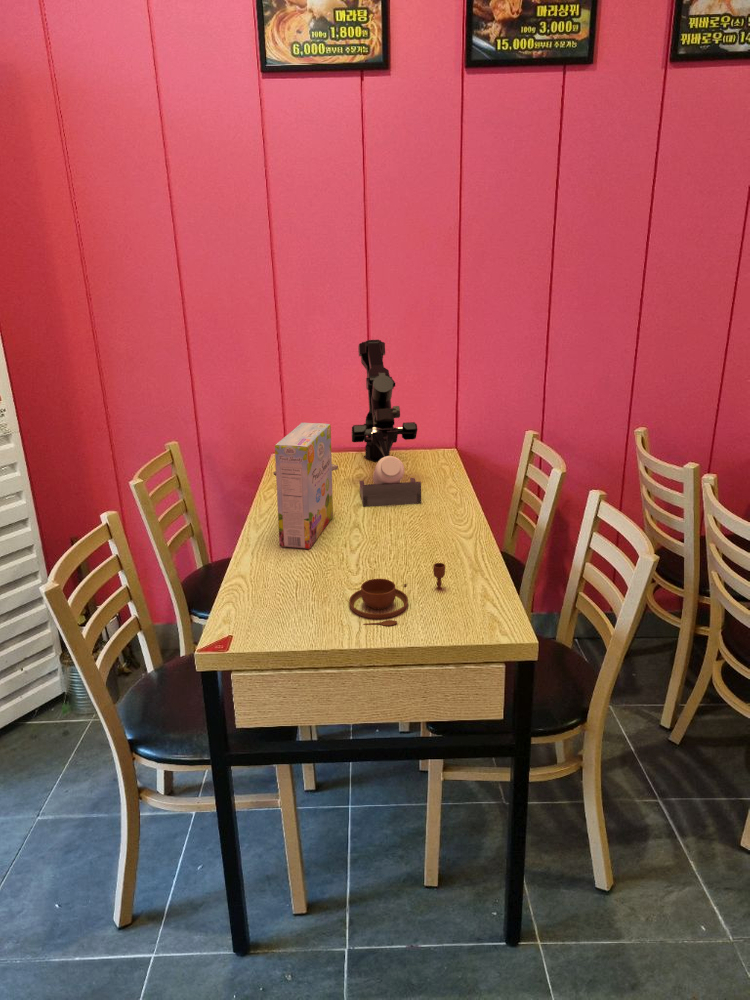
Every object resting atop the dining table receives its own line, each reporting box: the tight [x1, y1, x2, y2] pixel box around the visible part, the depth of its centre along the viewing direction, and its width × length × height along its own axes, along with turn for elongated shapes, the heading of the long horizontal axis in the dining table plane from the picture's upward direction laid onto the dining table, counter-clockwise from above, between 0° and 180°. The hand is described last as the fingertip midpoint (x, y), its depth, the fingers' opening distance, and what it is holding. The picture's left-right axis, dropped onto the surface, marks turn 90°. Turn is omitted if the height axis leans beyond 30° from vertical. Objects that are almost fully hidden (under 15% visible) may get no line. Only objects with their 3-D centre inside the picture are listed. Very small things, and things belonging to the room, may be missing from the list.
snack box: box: [274, 422, 334, 550], centre depth 183 cm, size 22×9×26 cm, turn 168°
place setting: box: [348, 562, 446, 627], centre depth 150 cm, size 18×20×6 cm
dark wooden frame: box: [359, 477, 422, 508], centre depth 208 cm, size 13×16×6 cm
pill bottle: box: [372, 455, 405, 484], centre depth 207 cm, size 8×8×15 cm
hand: (386, 458), depth 212 cm, fingers closed
